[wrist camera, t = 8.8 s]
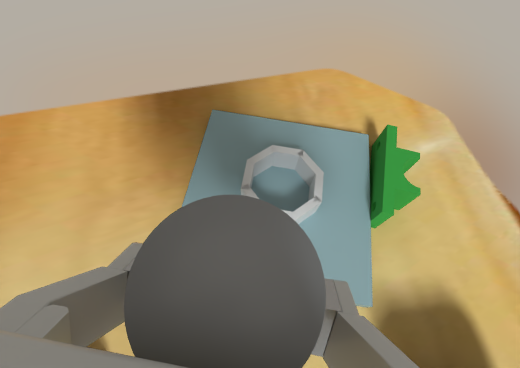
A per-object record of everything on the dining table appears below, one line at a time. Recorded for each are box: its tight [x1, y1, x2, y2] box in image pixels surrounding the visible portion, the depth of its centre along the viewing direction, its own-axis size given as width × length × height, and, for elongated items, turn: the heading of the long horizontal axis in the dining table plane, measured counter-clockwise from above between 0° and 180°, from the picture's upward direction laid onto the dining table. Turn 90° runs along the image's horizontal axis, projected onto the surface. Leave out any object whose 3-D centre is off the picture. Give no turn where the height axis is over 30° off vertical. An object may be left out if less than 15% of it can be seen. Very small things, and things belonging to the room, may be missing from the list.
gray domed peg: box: [124, 195, 326, 368], centre depth 10 cm, size 5×5×8 cm
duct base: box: [182, 110, 373, 307], centre depth 29 cm, size 20×20×4 cm
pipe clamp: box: [370, 125, 420, 228], centre depth 31 cm, size 11×4×5 cm, turn 165°
